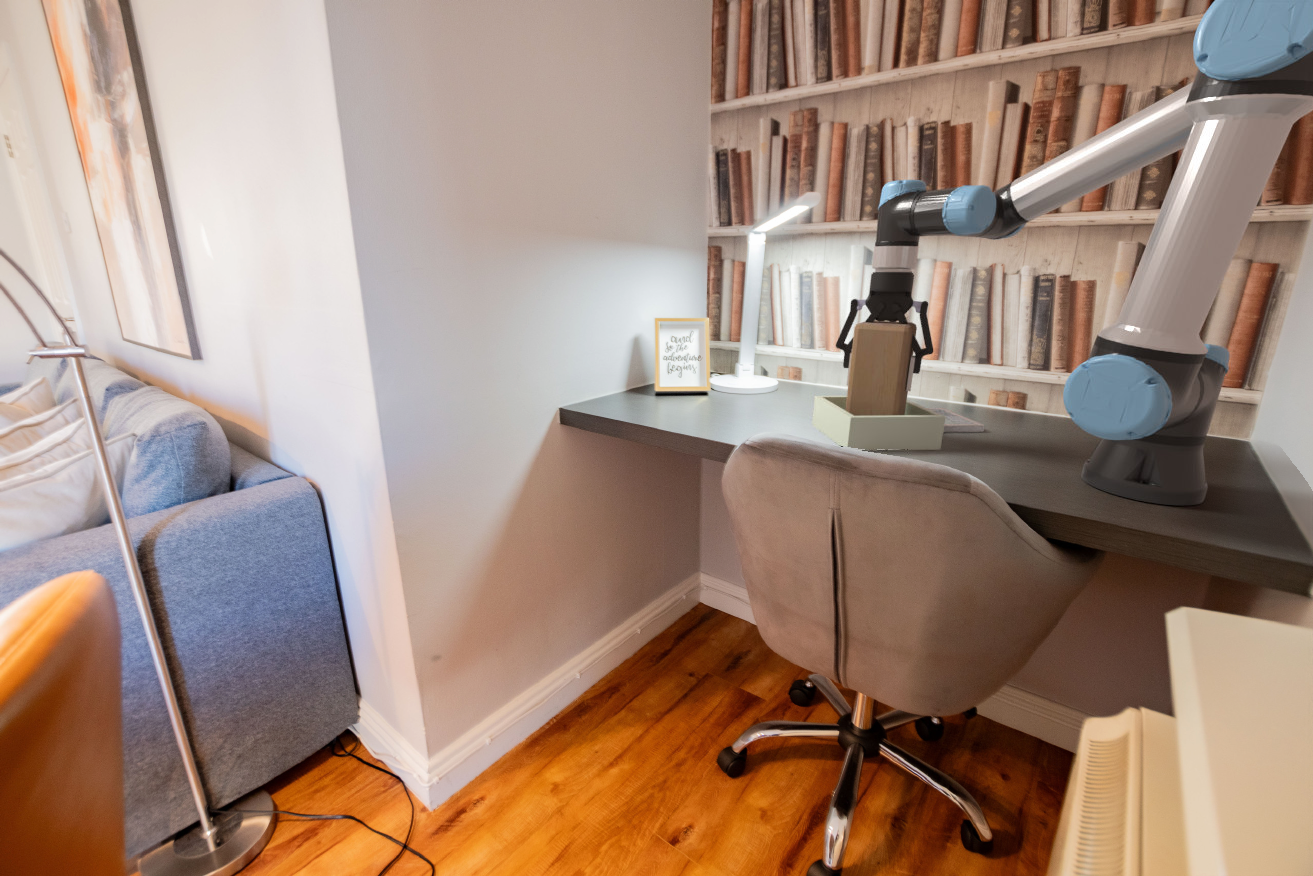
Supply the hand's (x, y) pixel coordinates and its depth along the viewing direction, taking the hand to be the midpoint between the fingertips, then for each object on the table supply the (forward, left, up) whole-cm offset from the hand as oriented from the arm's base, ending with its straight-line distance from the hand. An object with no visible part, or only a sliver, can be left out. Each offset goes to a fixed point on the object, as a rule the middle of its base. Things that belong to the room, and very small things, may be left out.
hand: (878, 387), depth 113 cm
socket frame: (+10, -18, -10) cm, 23 cm away
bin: (0, 0, -10) cm, 10 cm away
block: (0, 0, -8) cm, 8 cm away
